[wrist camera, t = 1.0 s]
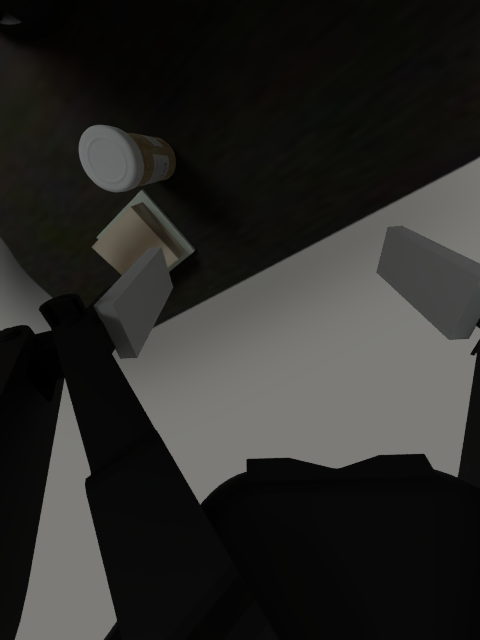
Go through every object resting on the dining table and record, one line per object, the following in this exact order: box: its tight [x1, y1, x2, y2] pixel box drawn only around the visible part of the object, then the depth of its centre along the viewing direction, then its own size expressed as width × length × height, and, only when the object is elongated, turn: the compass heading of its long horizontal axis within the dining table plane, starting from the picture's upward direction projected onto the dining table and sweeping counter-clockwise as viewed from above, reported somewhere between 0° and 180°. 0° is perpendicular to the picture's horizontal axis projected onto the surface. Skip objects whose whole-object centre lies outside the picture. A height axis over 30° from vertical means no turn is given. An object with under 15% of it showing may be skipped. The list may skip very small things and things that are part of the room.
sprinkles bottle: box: [79, 125, 176, 192], centre depth 25 cm, size 5×5×13 cm
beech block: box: [92, 202, 185, 276], centre depth 34 cm, size 8×8×4 cm
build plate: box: [97, 189, 195, 272], centre depth 36 cm, size 10×10×1 cm
